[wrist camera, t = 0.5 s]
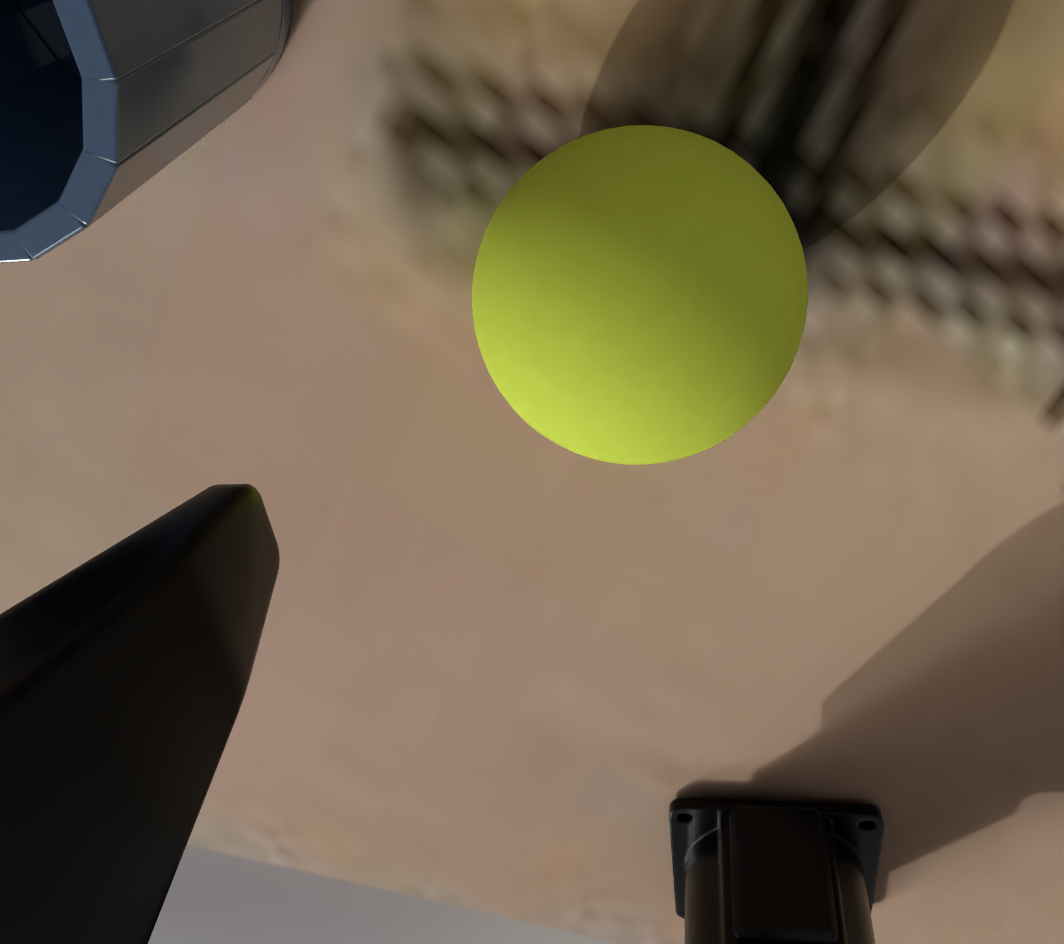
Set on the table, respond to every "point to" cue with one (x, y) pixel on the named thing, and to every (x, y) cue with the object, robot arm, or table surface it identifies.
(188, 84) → the tumbler
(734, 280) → the ball
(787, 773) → the table surface
